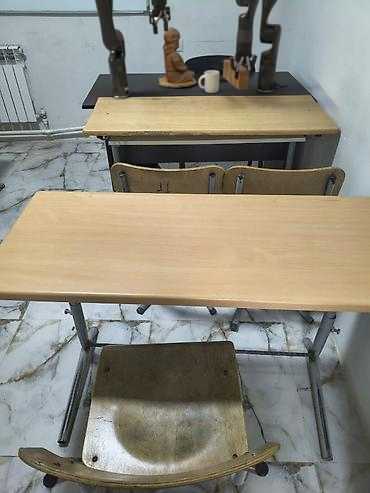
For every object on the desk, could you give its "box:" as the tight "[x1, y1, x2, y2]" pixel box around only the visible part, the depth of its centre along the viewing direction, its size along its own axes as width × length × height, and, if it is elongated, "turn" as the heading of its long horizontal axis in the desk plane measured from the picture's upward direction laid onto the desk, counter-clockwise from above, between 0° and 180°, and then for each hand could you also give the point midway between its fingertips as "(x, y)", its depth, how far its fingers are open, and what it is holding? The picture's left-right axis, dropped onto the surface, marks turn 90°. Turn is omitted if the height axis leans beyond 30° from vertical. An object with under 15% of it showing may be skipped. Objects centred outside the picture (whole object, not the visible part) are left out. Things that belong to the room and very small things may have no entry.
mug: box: [197, 69, 220, 94], centre depth 205 cm, size 12×8×10 cm
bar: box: [223, 58, 250, 91], centre depth 185 cm, size 24×5×9 cm, turn 15°
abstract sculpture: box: [202, 58, 228, 83], centre depth 228 cm, size 25×9×20 cm
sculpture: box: [157, 27, 198, 89], centre depth 214 cm, size 27×24×30 cm
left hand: (161, 32), depth 179 cm, fingers open, 8 cm apart
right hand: (241, 78), depth 178 cm, fingers closed on bar, 4 cm apart
